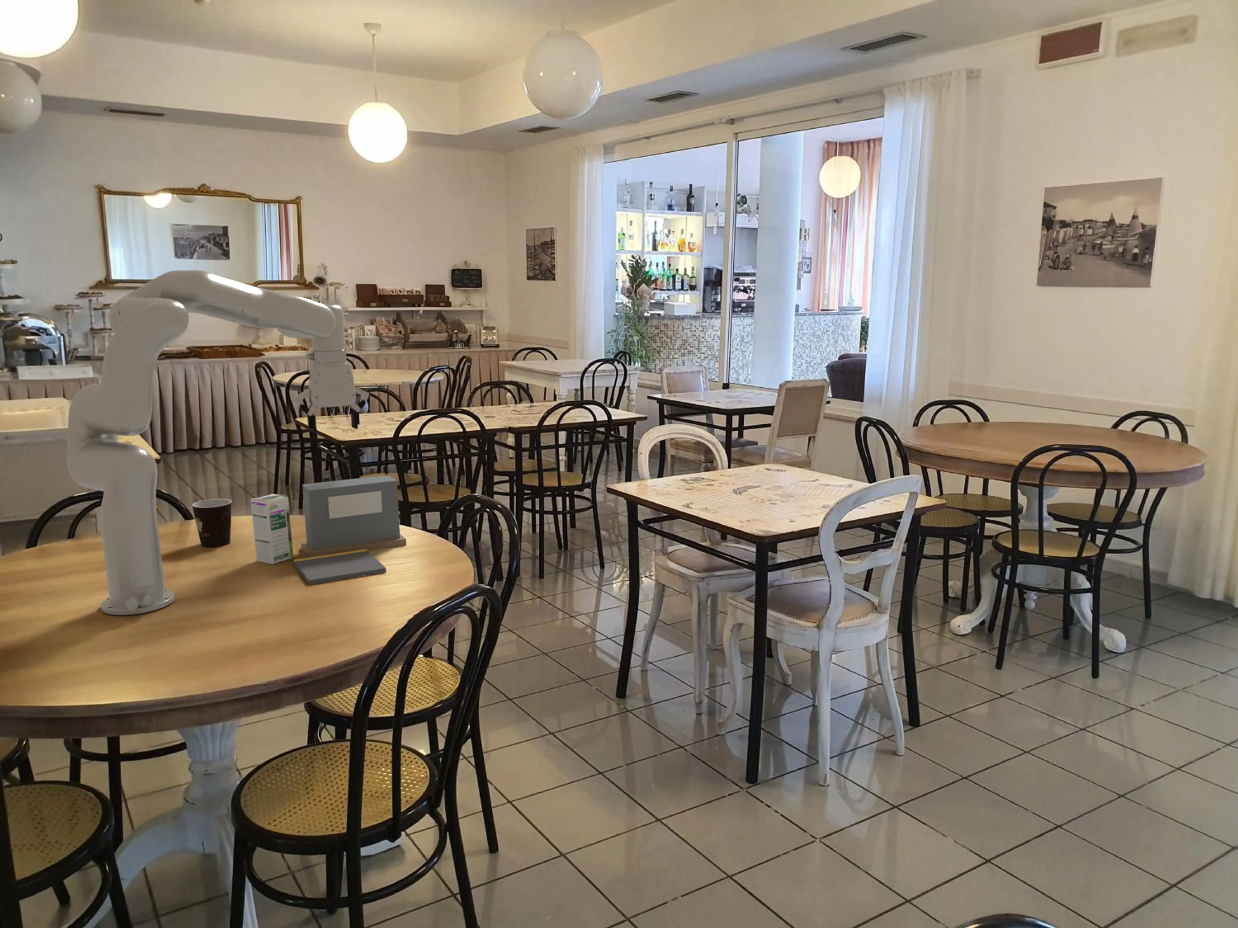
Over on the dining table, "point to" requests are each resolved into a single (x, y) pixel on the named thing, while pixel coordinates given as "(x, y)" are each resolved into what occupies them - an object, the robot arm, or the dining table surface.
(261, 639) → the dining table surface
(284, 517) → the syrup box
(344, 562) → the mat
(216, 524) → the coffee mug
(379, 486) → the box
